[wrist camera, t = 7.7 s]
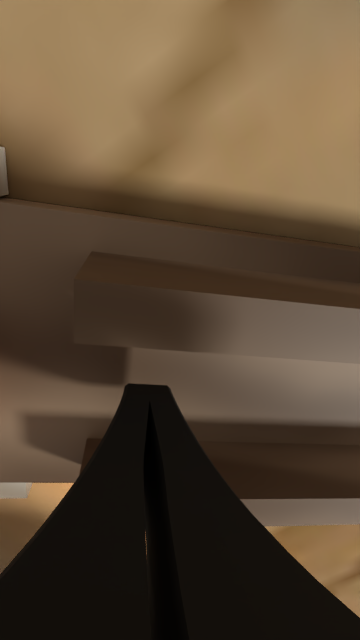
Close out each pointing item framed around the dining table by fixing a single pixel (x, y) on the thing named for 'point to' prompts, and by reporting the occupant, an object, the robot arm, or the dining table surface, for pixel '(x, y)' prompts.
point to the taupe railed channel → (182, 351)
